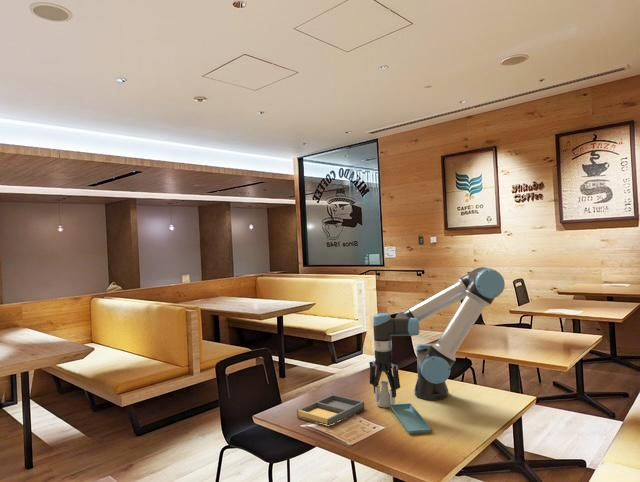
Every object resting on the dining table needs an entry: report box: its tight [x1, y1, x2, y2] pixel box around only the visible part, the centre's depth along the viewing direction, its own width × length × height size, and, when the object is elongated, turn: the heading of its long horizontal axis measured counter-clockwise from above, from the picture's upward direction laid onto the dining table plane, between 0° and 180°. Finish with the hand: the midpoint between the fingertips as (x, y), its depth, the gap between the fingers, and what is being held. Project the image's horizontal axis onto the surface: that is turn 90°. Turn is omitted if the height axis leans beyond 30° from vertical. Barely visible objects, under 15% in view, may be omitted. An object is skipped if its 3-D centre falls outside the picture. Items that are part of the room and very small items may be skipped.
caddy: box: [296, 394, 365, 425], centre depth 190 cm, size 17×23×3 cm
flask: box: [376, 380, 391, 409], centre depth 197 cm, size 7×7×10 cm
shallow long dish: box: [389, 403, 433, 435], centre depth 179 cm, size 26×9×2 cm, turn 6°
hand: (385, 402), depth 197 cm, fingers closed on flask, 7 cm apart
